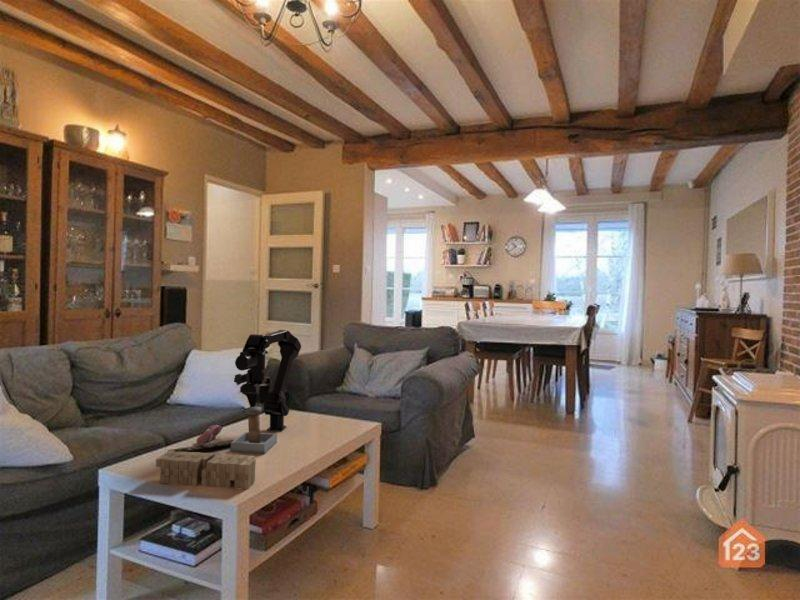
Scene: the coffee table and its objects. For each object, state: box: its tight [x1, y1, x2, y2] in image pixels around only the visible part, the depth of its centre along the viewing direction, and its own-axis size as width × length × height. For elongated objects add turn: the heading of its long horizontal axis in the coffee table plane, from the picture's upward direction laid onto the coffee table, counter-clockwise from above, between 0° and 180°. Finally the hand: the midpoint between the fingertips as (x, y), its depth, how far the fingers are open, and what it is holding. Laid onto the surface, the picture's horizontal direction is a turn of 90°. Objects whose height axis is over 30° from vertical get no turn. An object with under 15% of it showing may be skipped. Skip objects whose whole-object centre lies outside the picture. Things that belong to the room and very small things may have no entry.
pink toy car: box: [196, 424, 223, 444], centre depth 187 cm, size 10×5×7 cm, turn 170°
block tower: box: [155, 449, 256, 490], centre depth 148 cm, size 8×8×29 cm
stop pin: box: [245, 406, 263, 443], centre depth 179 cm, size 6×6×14 cm
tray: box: [230, 431, 278, 455], centre depth 179 cm, size 13×13×4 cm
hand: (257, 406), depth 189 cm, fingers open, 9 cm apart
